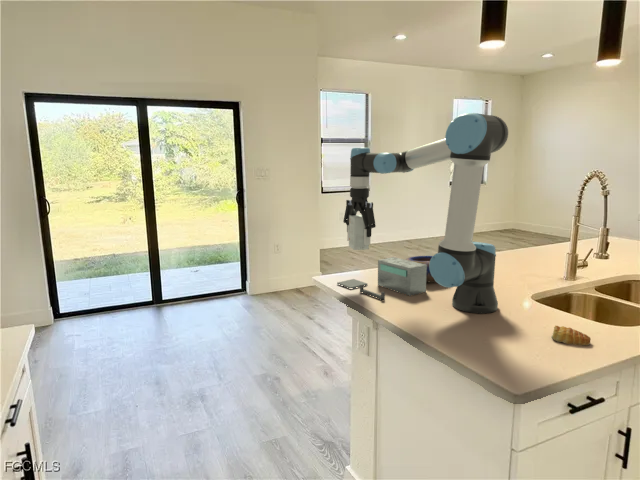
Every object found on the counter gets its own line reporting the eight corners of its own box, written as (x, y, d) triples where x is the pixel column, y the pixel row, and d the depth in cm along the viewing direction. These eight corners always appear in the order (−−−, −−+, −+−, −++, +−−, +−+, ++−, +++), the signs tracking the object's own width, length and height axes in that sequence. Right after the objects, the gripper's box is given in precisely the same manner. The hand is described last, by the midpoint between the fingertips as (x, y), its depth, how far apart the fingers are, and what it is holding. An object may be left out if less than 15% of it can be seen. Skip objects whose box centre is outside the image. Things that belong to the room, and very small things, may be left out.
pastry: (590, 341, 120) (591, 328, 120) (589, 349, 115) (591, 336, 114) (552, 334, 125) (554, 321, 125) (550, 342, 120) (551, 329, 119)
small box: (369, 249, 169) (369, 217, 166) (353, 250, 167) (354, 217, 165) (362, 245, 177) (363, 214, 174) (348, 246, 175) (348, 215, 173)
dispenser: (425, 291, 167) (426, 264, 165) (387, 302, 155) (387, 273, 153) (393, 281, 181) (393, 256, 180) (355, 291, 169) (355, 264, 167)
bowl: (425, 272, 197) (425, 251, 195) (456, 280, 182) (457, 258, 180) (396, 278, 187) (396, 256, 186) (426, 287, 172) (427, 264, 171)
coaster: (367, 285, 176) (367, 283, 176) (350, 289, 171) (350, 287, 171) (353, 281, 184) (353, 278, 183) (337, 284, 178) (337, 282, 178)
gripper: (386, 188, 160) (384, 246, 165) (349, 185, 178) (348, 237, 183) (371, 189, 156) (370, 248, 161) (334, 186, 174) (334, 239, 178)
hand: (358, 242), depth 172 cm, fingers closed on small box, 10 cm apart
